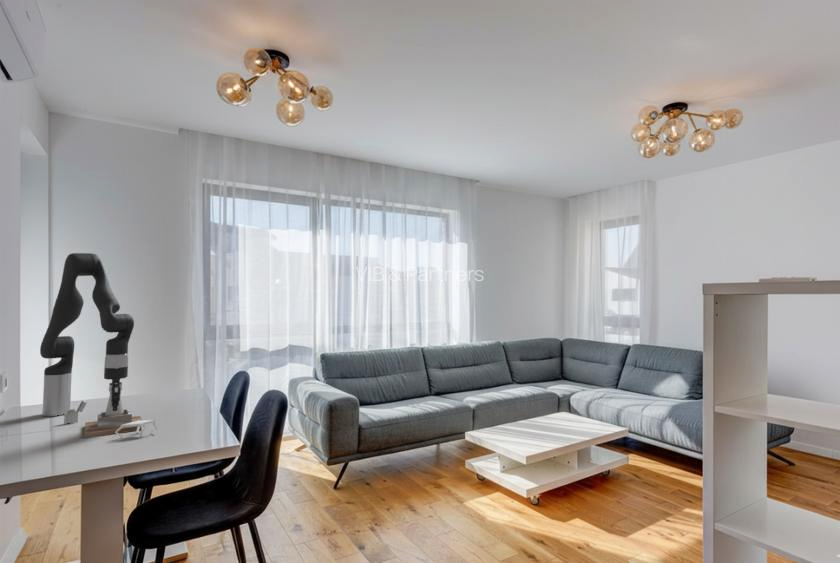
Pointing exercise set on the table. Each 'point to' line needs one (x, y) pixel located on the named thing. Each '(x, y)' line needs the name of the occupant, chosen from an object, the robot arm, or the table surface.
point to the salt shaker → (119, 409)
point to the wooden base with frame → (110, 424)
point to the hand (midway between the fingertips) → (114, 410)
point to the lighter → (73, 413)
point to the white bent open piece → (137, 423)
